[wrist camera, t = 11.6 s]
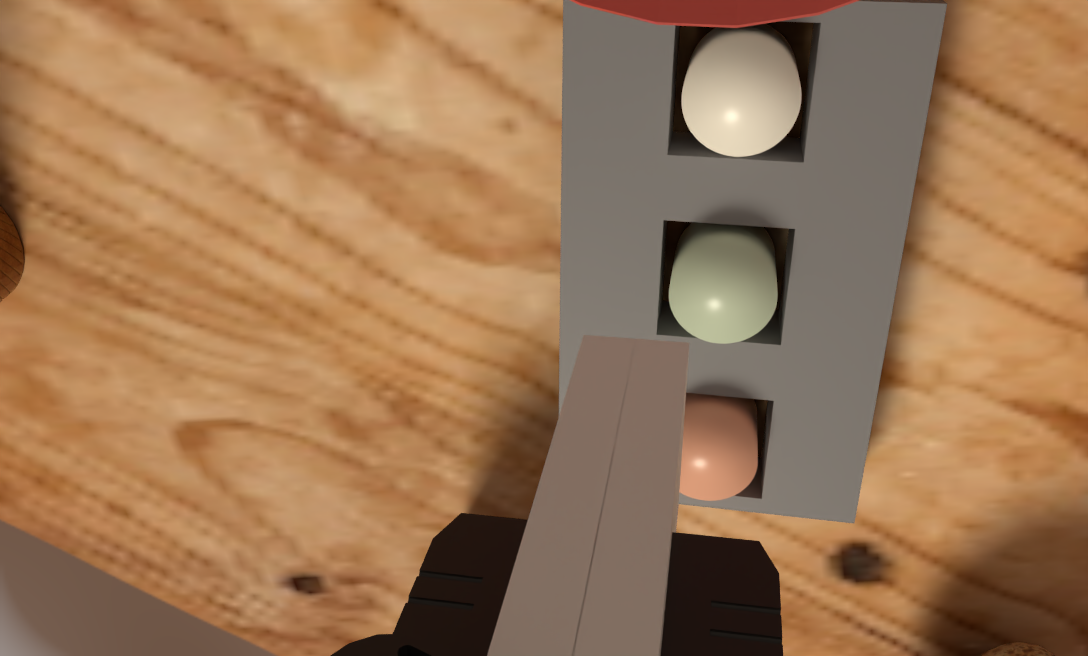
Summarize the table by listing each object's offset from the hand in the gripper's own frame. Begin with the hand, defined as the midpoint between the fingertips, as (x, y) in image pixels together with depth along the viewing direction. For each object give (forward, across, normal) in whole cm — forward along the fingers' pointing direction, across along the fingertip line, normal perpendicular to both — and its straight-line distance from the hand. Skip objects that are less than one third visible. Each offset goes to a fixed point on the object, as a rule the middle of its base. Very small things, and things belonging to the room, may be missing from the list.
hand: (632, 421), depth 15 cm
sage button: (+24, +1, -7) cm, 25 cm away
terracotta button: (+24, +1, -14) cm, 28 cm away
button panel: (+24, +2, -7) cm, 25 cm away
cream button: (+24, +2, 0) cm, 24 cm away
